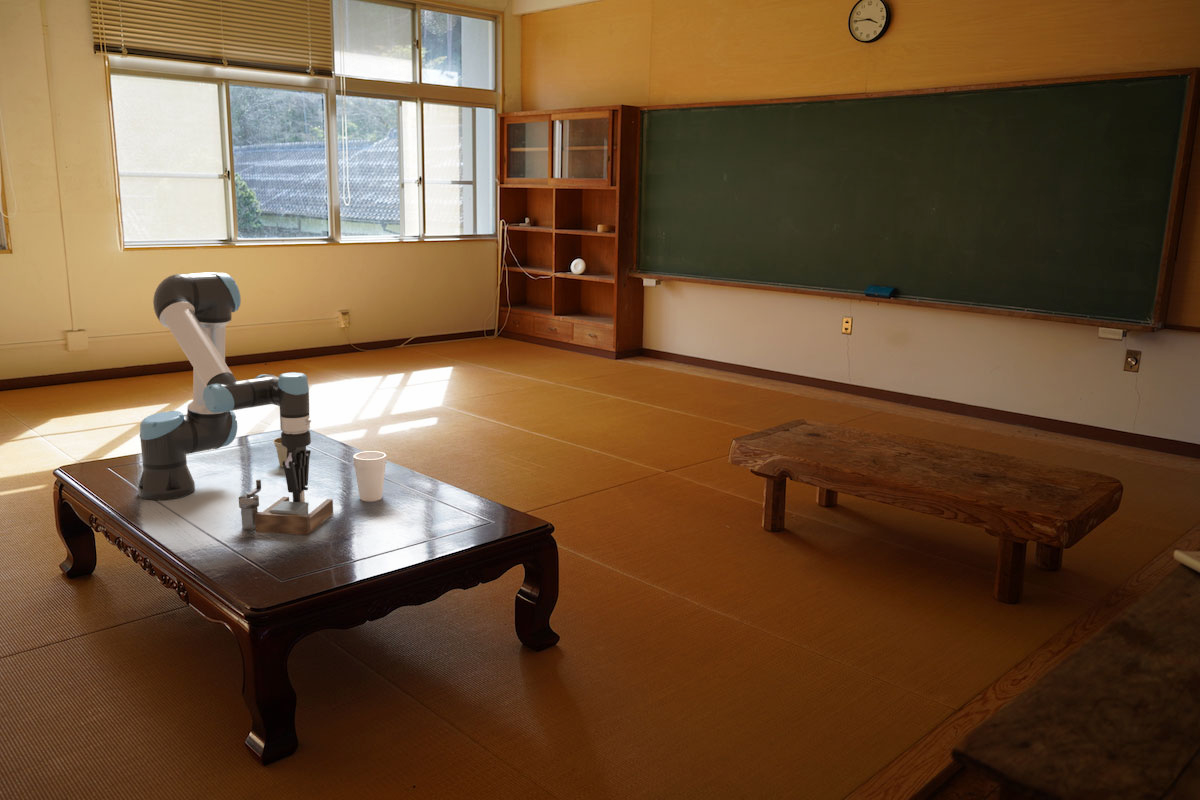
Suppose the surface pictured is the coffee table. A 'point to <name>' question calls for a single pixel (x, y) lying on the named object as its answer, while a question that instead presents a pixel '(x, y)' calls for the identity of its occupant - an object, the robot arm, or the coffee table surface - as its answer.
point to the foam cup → (370, 474)
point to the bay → (292, 519)
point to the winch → (249, 507)
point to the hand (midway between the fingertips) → (299, 514)
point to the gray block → (291, 508)
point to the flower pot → (280, 451)
